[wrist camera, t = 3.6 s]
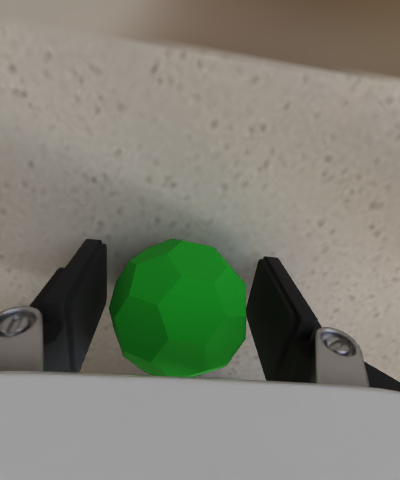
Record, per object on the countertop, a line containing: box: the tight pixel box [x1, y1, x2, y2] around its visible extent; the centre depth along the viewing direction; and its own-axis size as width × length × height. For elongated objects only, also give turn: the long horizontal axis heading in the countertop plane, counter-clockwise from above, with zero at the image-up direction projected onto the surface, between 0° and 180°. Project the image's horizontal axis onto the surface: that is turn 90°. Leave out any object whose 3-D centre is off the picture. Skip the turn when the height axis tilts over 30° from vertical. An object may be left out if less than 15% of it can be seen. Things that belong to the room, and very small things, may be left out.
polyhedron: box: [109, 239, 246, 377], centre depth 10 cm, size 5×5×5 cm
